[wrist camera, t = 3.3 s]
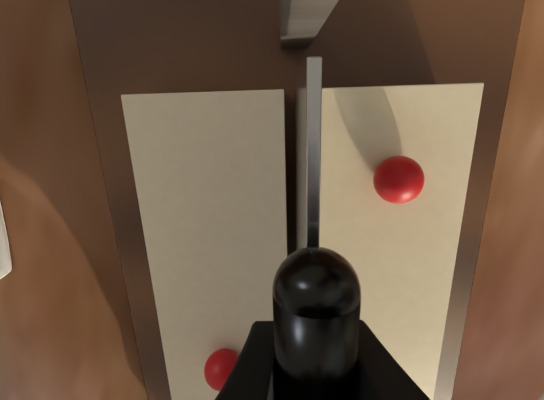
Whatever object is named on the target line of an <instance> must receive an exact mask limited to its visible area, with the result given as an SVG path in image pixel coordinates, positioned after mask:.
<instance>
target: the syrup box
mask: <svg viewBox="0 0 544 400" xmlns="http://www.w3.org/2000/svg"><path fill="white" fill-rule="evenodd" d="M11 270H12V263H11V256H10V249H9V243H8V237H7V232H6V227H5V222H4V217H3V212H2V207H1V203H0V279H1V278H3V277H4V276H6V275H7V274H8V273H10V271H11Z"/></svg>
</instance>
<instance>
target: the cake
mask: <svg viewBox="0 0 544 400" xmlns="http://www.w3.org/2000/svg"><path fill="white" fill-rule="evenodd" d="M483 87H484V83H455V84H425V85H396V86H366V87H336V88H322V118H321V183H320V247H324V248H328V249H331V250H334V251H336V252H337V253H339V254H340V255H342V256H343V257H344V258H346V259H347V261H348V262H349V263H350V264H351V265H352V266H353V268H354V270H355V272H356V273H357V275H358V279H359V282H360V286H361V309H360V320H363V321H364V322H365V323H366V324H367V325H368V327H369V328H370V329H371V331H372V332H373V333H374V334H375V336H376V337H377V338H378V340H379V341H380V342H381V343H382V345H383V346H384V347H385V348H386V349H387V351H388V352H389V353H390V354H391V356H392V357H393V358H394V359H395V360H396V361H397V363H398V364H399V365H400V366H401V367H402V368H403V370H404V371H405V372H406V373H407V374H408V375H409V376H410V377H411V379H412V380H413V381H414V382H415V383H416V384H417V385H418V386H419V388H420V389H421V390H422V391H423V392H424V393H425V394H426V395H427V396H428V397H429V398H430V399H431V400H433V397H434V391H435V385H436V379H437V372H438V366H439V360H440V354H441V348H442V341H443V335H444V329H445V323H446V316H447V310H448V304H449V298H450V292H451V285H452V279H453V273H454V267H455V261H456V254H457V248H458V242H459V236H460V230H461V223H462V217H463V211H464V205H465V199H466V192H467V186H468V180H469V174H470V168H471V161H472V155H473V149H474V143H475V137H476V130H477V124H478V118H479V112H480V105H481V99H482V93H483ZM121 100H122V106H123V112H124V118H125V124H126V130H127V136H128V142H129V148H130V154H131V160H132V166H133V172H134V178H135V184H136V190H137V196H138V202H139V208H140V214H141V220H142V226H143V232H144V238H145V244H146V250H147V256H148V262H149V268H150V274H151V280H152V286H153V291H154V297H155V303H156V309H157V315H158V321H159V327H160V333H161V339H162V345H163V351H164V357H165V363H166V369H167V375H168V381H169V387H170V393H171V399H172V400H215V398H216V397H217V395H218V394H219V392H220V390H221V389H222V387H223V385H224V383H225V382H226V380H227V378H228V376H229V374H230V372H231V370H232V369H233V367H234V365H235V363H236V361H237V359H238V357H239V355H240V353H241V351H242V349H243V347H244V344H245V342H246V340H247V337H248V335H249V332H250V329H251V326H252V324H253V323H254V322H255V321H273V299H272V288H273V280H274V277H275V274H276V271H277V270H278V268H279V266H280V265H281V263H282V262H283V261H284V260H285V259H286V258H287V217H286V163H285V110H284V89H276V90H246V91H216V92H186V93H156V94H126V95H121Z"/></svg>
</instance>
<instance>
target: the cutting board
mask: <svg viewBox="0 0 544 400" xmlns="http://www.w3.org/2000/svg"><path fill="white" fill-rule="evenodd" d="M69 2H70V7H71V12H72V17H73V22H74V27H75V32H76V37H77V42H78V47H79V52H80V58H81V63H82V68H83V73H84V78H85V83H86V88H87V93H88V98H89V103H90V108H91V113H92V118H93V123H94V129H95V134H96V139H97V144H98V149H99V154H100V159H101V164H102V169H103V174H104V179H105V184H106V189H107V194H108V200H109V205H110V210H111V215H112V220H113V225H114V230H115V235H116V240H117V245H118V250H119V255H120V260H121V265H122V271H123V276H124V281H125V286H126V291H127V296H128V301H129V306H130V311H131V316H132V321H133V326H134V331H135V336H136V341H137V347H138V352H139V357H140V362H141V367H142V372H143V377H144V382H145V387H146V392H147V397H148V400H172V399H171V393H170V387H169V381H168V375H167V369H166V363H165V357H164V351H163V345H162V339H161V333H160V327H159V321H158V315H157V309H156V303H155V297H154V291H153V286H152V280H151V274H150V268H149V262H148V256H147V250H146V244H145V238H144V232H143V226H142V220H141V214H140V208H139V202H138V196H137V190H136V184H135V178H134V172H133V166H132V160H131V154H130V148H129V142H128V136H127V130H126V124H125V118H124V112H123V106H122V100H121V95H126V94H156V93H186V92H216V91H246V90H276V89H284V110H285V163H286V217H287V257H288V256H289V255H290V254H292V253H294V252H295V251H296V144H295V72H296V71H297V70H298V68H299V67H300V66H301V64H302V63H303V62H304V60H305V59H306V58H307V57H316V56H321V57H322V88H336V87H366V86H396V85H425V84H455V83H484V87H483V93H482V99H481V105H480V112H479V118H478V124H477V130H476V137H475V143H474V149H473V155H472V161H471V168H470V174H469V180H468V186H467V192H466V199H465V205H464V211H463V217H462V223H461V230H460V236H459V242H458V248H457V254H456V261H455V267H454V273H453V279H452V285H451V292H450V298H449V304H448V310H447V316H446V323H445V329H444V335H443V341H442V348H441V354H440V360H439V366H438V372H437V379H436V385H435V391H434V397H433V400H451V399H452V393H453V388H454V382H455V377H456V372H457V366H458V361H459V355H460V350H461V344H462V339H463V334H464V328H465V323H466V317H467V312H468V306H469V301H470V296H471V290H472V285H473V279H474V274H475V268H476V263H477V258H478V252H479V247H480V241H481V236H482V230H483V225H484V219H485V214H486V209H487V203H488V198H489V192H490V187H491V181H492V176H493V171H494V165H495V160H496V154H497V149H498V143H499V138H500V133H501V127H502V122H503V116H504V111H505V105H506V100H507V95H508V89H509V84H510V78H511V73H512V67H513V62H514V57H515V51H516V46H517V40H518V35H519V29H520V24H521V18H522V13H523V8H524V2H525V0H69Z"/></svg>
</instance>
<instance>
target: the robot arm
mask: <svg viewBox="0 0 544 400" xmlns="http://www.w3.org/2000/svg"><path fill="white" fill-rule="evenodd" d="M215 400H276V382H275V354H274V327H273V321H255V322H254V323H253V324H252V326H251V329H250V332H249V335H248V337H247V340H246V342H245V344H244V347H243V349H242V351H241V353H240V355H239V357H238V359H237V361H236V363H235V365H234V367H233V369H232V370H231V372H230V374H229V376H228V378H227V380H226V382H225V383H224V385H223V387H222V389H221V390H220V392H219V394H218V395H217V397H216V398H215ZM355 400H431V399H430V398H429V397H428V396H427V395H426V394H425V393H424V392H423V391H422V390H421V389H420V388H419V386H418V385H417V384H416V383H415V382H414V381H413V380H412V379H411V377H410V376H409V375H408V374H407V373H406V372H405V371H404V370H403V368H402V367H401V366H400V365H399V364H398V363H397V361H396V360H395V359H394V358H393V357H392V356H391V354H390V353H389V352H388V351H387V349H386V348H385V347H384V346H383V345H382V343H381V342H380V341H379V340H378V338H377V337H376V336H375V334H374V333H373V332H372V331H371V329H370V328H369V327H368V325H367V324H366V323H365V322H364V321H363V320H360V325H359V341H358V357H357V373H356V389H355Z"/></svg>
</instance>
